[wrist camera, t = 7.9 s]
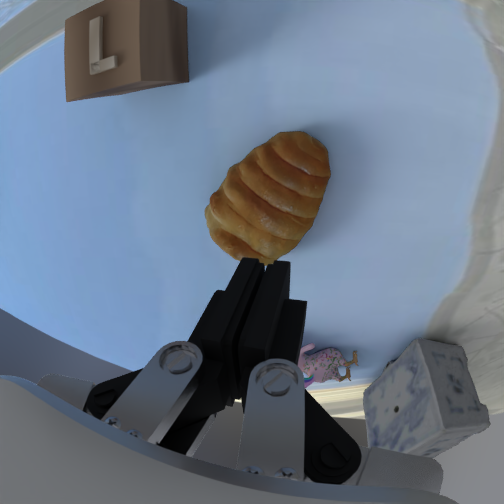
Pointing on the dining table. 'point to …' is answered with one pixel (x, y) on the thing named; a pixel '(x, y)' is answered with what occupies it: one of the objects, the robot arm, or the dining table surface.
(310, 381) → the rabbit figure
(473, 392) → the incense holder
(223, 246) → the pastry
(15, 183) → the dining table surface
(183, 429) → the robot arm
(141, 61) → the lettered block
